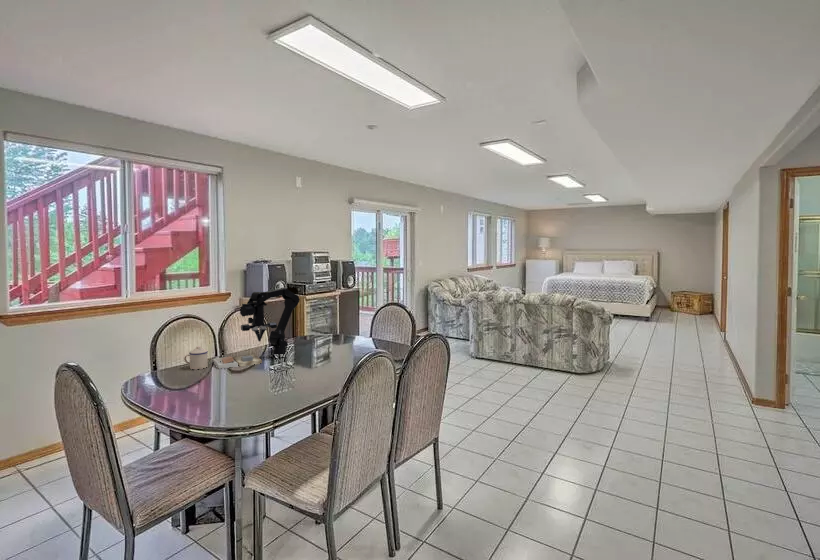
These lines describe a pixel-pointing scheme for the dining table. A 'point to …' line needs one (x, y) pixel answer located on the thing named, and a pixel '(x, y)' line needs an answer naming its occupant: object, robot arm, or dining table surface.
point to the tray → (226, 365)
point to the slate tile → (246, 358)
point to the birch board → (241, 363)
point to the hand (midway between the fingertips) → (259, 341)
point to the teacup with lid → (197, 358)
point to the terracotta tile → (227, 359)
